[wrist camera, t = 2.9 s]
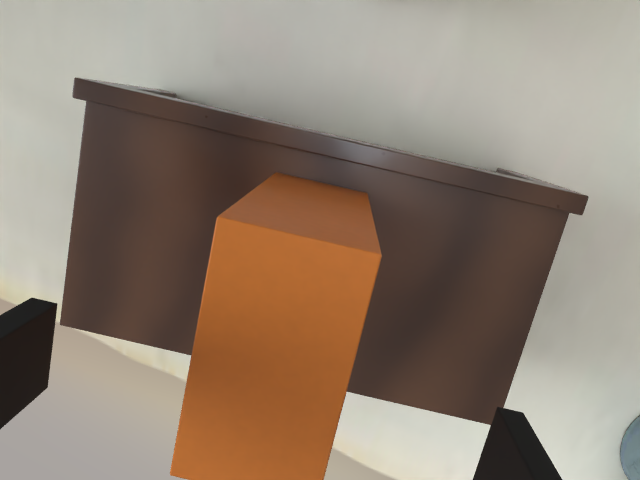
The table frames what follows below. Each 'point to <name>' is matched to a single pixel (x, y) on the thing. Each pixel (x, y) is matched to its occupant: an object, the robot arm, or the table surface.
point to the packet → (277, 332)
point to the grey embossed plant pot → (631, 451)
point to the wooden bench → (330, 168)
